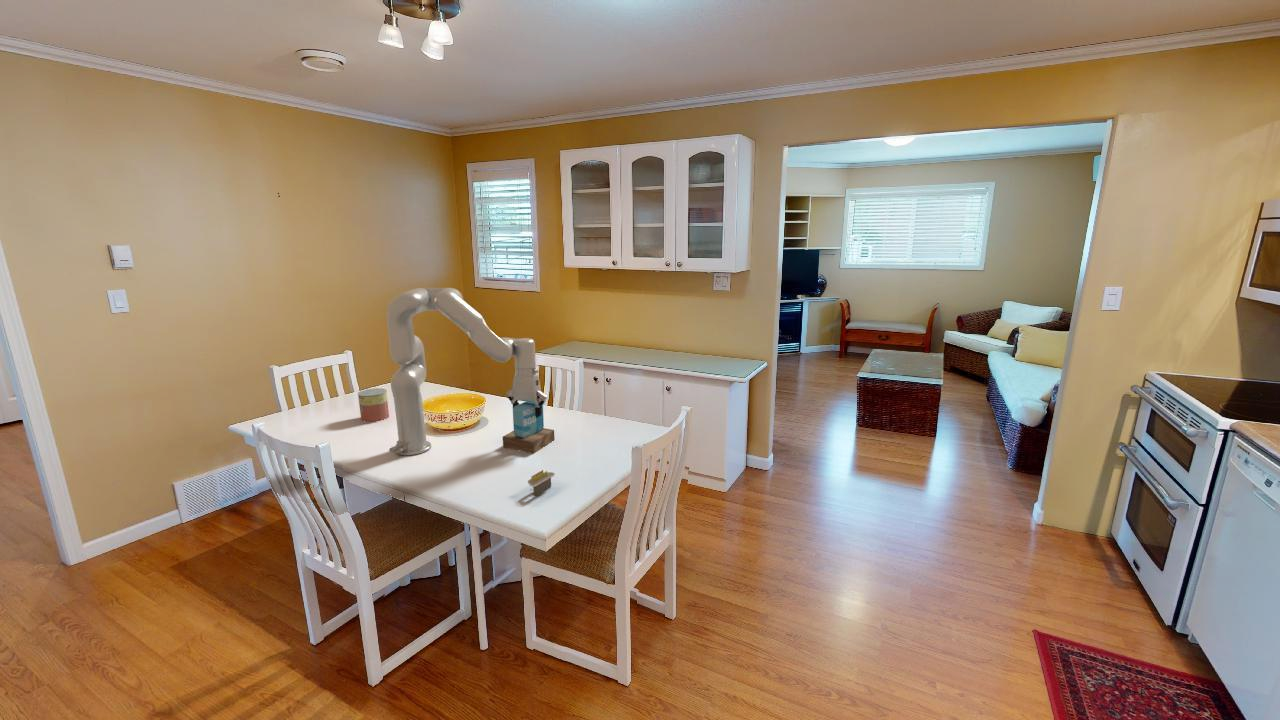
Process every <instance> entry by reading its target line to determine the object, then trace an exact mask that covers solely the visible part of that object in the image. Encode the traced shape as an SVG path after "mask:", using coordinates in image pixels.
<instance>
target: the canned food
mask: <svg viewBox="0 0 1280 720" xmlns="http://www.w3.org/2000/svg"><path fill="white" fill-rule="evenodd" d="M387 391H388V390H387V389H385V388H378V387H377V388H376V387H375V388H369V389H363V390H361V391H359V392H357V395H358V397H357V398H358V403H359V413H360V414H359V415H360V421H361V420H362V421H365V422H364V423H366V422H373V423H377V422H376V421H380V422H382V421H381V420H383V421H385V420H384V419H386V420H388V419H390V413H389V401H388V395H387V393H388V392H387ZM387 418H388V419H387ZM362 421H361V422H362Z"/></svg>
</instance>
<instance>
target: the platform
mask: <svg viewBox="0 0 1280 720" xmlns="http://www.w3.org/2000/svg"><path fill="white" fill-rule="evenodd" d="M554 476H555V472H553V471H552V472H548V470H545V471H544V469H542V470H541V471H538V472H537V473H534V474H533V475H531V476H530V477H531V478H530V479H529V480H527V485H529V486H530V487H532V492H533V497H534V498H536V497H537V496H539V495H541V494H542V493H544V492H546V491H547V490H549V489H551V488H552V478H553V477H554ZM550 487H551V488H550ZM545 490H546V491H545ZM535 496H536V497H535Z"/></svg>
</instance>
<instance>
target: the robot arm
mask: <svg viewBox="0 0 1280 720" xmlns="http://www.w3.org/2000/svg"><path fill="white" fill-rule="evenodd" d="M425 311H426V312H429V311H439V312H440V313H441V314H442V315H443V316H444V317H445V318H447V319H449V321H451V322H452V323H453V324H454V325H456V326H457V327H458V328H459V329H460V330H462V332H464V333H465V334H466V335H467V337H468V338H469V339H470V340H471V341H472V342H473V343H474V344H475V345H476V346H477V347H478V348H479V349H480V350H481V351H482V352H483V353H485V354H486V355H487V356H488V357H490V358H491V359H492V360H494V361H496V362H498V363H506V362H508V361H509V360H510V359H511V358H513V357H514V366H515V367H514V368H515V369H514V370H515V372H514V375H513V380H512V389H509V390H507V391H506V392H505V394H506V396H507V398H508V400H509V401H510V404H511V405H512V409H513V408H514V407H515V406H516V405H519V404H520V403H519V401H520V402H533V403H534V404H535V405H536V408H535V417H536V418H538V417H539V416H541V414H542V405H543V406H544V404H545V403H546V401H547V399H548V395H547V394H545V393H544V392H542V390H541V389H542V387H541V382H540V381H541V380H540V378H539V375H538V374H539V369H537V365H536V362H537V361H536V342H535V340H534V339H533V338H529V337H524V338H523V337H521V338H514V337H499V336H498V335H496V334H495V333H494V332H493V331H492V330H491V329H490V328H489V326H488V325H487V323H486V321H485V319H484V317H483V315H482V314H481V313H480V312H478V311H477V310H476V309H475V308H473V307H472V306H471V305H470V304H469V303H467V302H466V301H465V300H464V298H463V294H462V293H461V292H460V291H459V290H458V289H456V288H455V287H454V288H453V287H415V288H413V289H410V290H407V291H405V292H403V293H400V294H399V295H397V296H395V297H394V298H393V299H391V301H390V303H389V304H388V306H387V308H386V324H387V333H388V343H389V353H390V357H391V359H392V361H393V362H394V363H395V364H397V365H399V368H398V369H397V370H396V371H395V372H394V373H393V375H392V377H391V379H390V389H391V393H392V397H393V401H394V409H395V410H394V411H395V418H396V426H397V428H396V429H397V436H398V437H397V438H398V440H397V441H396V444H395V445H394V446H391V447H390V448H389V449H388V451H389V452H390V453H391V454H393V453H396V454H397V455H400V456H414V455H420V454H422V453H425V452H428V451H429V450H430V449H431V448H432V443H431V442H430V441H428V440H427V435H426V423H425V416H424V415H425V414H424V403H423V397H422V394H421V388H420V387H421V385H422V384H423V383H424V382H425V380H426V377H427V364H426V355H425V347H424V342H422V340H421V338H420V337H418V336H417V335H415V332H414V330H415V328H414V323H413V316H415V315H418V314H421V313H422V312H425Z"/></svg>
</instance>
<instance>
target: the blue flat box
mask: <svg viewBox="0 0 1280 720" xmlns="http://www.w3.org/2000/svg"><path fill="white" fill-rule="evenodd" d="M535 408H536V405H535V404H534V403H533V402H526V401H523V402H522V403H519V405H516V406H515V407H514V408H513V407H512V423H513V431H514V435H515V436H518V437H522V438H526V437H528V436H531V435H533V434H535V433H537V432H540V431H542V430H543V428H545V425H544V421H545V420H544V404H543V405H542V414H541V416H539V417H538V418H536V417H535Z"/></svg>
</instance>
